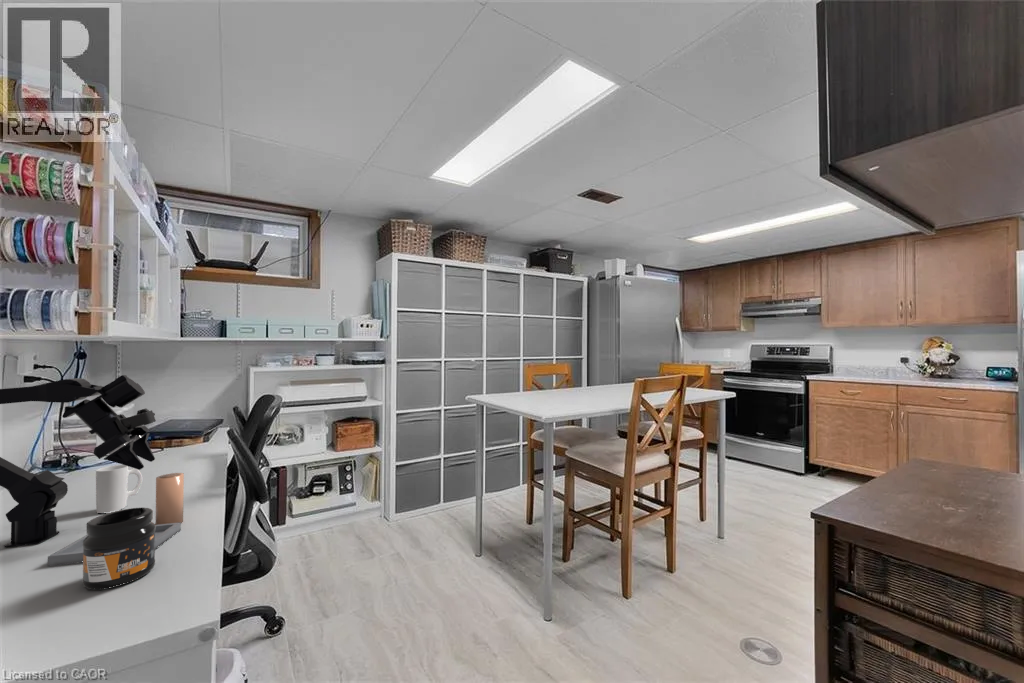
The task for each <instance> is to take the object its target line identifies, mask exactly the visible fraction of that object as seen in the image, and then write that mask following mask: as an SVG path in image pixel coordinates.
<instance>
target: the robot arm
mask: <svg viewBox="0 0 1024 683" xmlns="http://www.w3.org/2000/svg"><path fill="white" fill-rule="evenodd" d="M145 393H146V392H145V389H143V387H142V386H141V385H140V384H139V383H138V382H136V381H134V380H133V379H131V378H129V377H128V376H127V375H125V374H123V375H120V376H118V377H117V378H115V379H114V380H113V381H111V382H109V383H108V384H106V385H103V386H102V385H98V384H97V385H96V384H92V383H91V382H89V381H88V380H86V379H85V378H82V377H81V378H80V377H77V378H76V377H74V378H65V379H59V380H55V381H49V382H46V383H41V384H37V385H31V386H21V387H20V386H19V387H8V388H5V387H4V388H0V405H5V404H7V405H8V404H15V403H16V404H17V403H29V402H39V403H40V402H43V403H64V404H65V403H73V402H78V401H80V402H79V403H76V404H75V405H67V406H65V407H64V412H63V414H62V418H63V419H66V418H70V417H73V416H74V415H76V416H77V417H78V418H79V419H80V420H81V421H82V422H83V423H84V424H85V425H86V426H87V427H88V428H89V429H90V430H88V431H89V433H90V434H91V435H94V434H96V435H97V437H99V439H100V440H102V441H103V442H102V443H100V444H99V445H97V446H96V447H94V448H93V455H95V457H97V459H99V460H101V459H103V460H105V461H110V462H114V463H116V464H118V465H126V466H128V468H135V469H138V470H139V471H140V470H142V469H144V468H145V466H144V463H143V462H142V460H140V458H141V459H143V460H146V461H148V462H151V463H152V462H153V461H155V460H156V457H155V455H154V453H153V451H152V448H150V445H149V442H148V438H149V436H150V429H149V428H148V427H147V425H150V424H153V423H155V422H156V417H155V416H156V413H155V412H153V410H150V409H148V408H143V409H139V410H137V412H136V414H134V415H131V416H127V417H126V416H125V415H124V414H122V413H121V414H118V413H117V412H115V410H113V408H115V407H117V408H120V409H121V408H123V407H125V406H128V405H129V404H131V403H132V402H134V401H136V400H137V399H139V398H140V397H142V396H144V395H145ZM95 396H97V397H95ZM88 397H89V398H90V397H95V398H93V399H91V400H90V399H87V398H88ZM64 480H65V478H64V477H60V476H58V475H56V474H54V473H53V472H52V471H50V470H48V469H46V470H44V471H42V472H40V473H33V472H29V471H27V470H26V469H23V468H22V467H20V466H18V465H16V464H14V463H12V462H11V461H8V460H7V459H5V458H3V457H1V456H0V487H2V488H4V489H6V490H7V492H8V493H9V495H10V496H11V497H12V499H13V500H14V501H15V502H16V503H17V505H15V506H14V507H12V509H10V510H9V511H8V512H7V513H5V517H6V518H7V522H8V523H10V525H11V526H10V542H9V543H6V544H4V545H3V546H4V548H12V547H13V548H14V547H21V546H23V547H24V546H33V545H38V544H41V543H43V542H45V541H47V540H49V539H51V538H52V537H55V536H56V535H59V534H61V533H60V532H61V531H60V530H57V529H58V528H57V527H58V526H57V525H58V524H57V522H58V520H57V519H58V518H57V516H55V514H56V513H55V512H56V511H55V510H52V509H54V508H56V507H57V504H58V503H59V501H61V500H62V499H64V498H65V496H66V495H67V494H68V491H69V490H68V489H69V488H68V486H69V485H68V484H67V483H66V482H65V481H64Z"/></svg>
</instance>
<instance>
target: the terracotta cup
mask: <svg viewBox="0 0 1024 683" xmlns="http://www.w3.org/2000/svg"><path fill="white" fill-rule="evenodd" d="M184 476H185V475H184V473H183V472H174V473H173V472H172V473H166V474H161V475H158V476H157V477H155V523H154V524H155V525H159V524H169V523H179V522H181V524H183V523H184V496H185V495H184V494H185V493H184V488H185V487H184V484H185V482H184V481H185V480H184V479H185V477H184ZM182 522H183V523H182Z"/></svg>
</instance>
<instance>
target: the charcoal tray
mask: <svg viewBox="0 0 1024 683" xmlns="http://www.w3.org/2000/svg"><path fill="white" fill-rule="evenodd" d="M155 526H156V530H155V549H156V548H157V547H158V546H160V545H161V544H162V545H164V544H165V543H166V542H167V540H168V539H169V538H170V539H171V538H173V537H174V536H175V535H177V534H178V533H180V532H181V531H182V529H181V528H182V527H181V526H182V523H181V522H179V523H169V524H159V525H155ZM180 530H181V531H180ZM177 532H178V533H177ZM176 533H177V534H176ZM173 535H174V536H173ZM87 536H88V534H87V533H86V535H84V536H82V537H81V538H79V539H77V540H74V541H73V542H71V543H69V544H68V545H65V546H64V547H62V548H60V549H59V550H57V551H55V552H54V553H52V554H50V555H48V556H47V567H52V566H53V567H54V566H61V565H72V564H78V563H77V562H80V563H83V562H82V561H83V546H82V544H83V541H84V539H85V538H86V537H87ZM172 536H173V537H172ZM170 539H169V540H170ZM169 540H168V541H169ZM165 541H166V542H165ZM164 542H165V543H164ZM163 543H164V544H163ZM162 545H161V546H162ZM161 546H160V547H161ZM158 548H159V547H158ZM158 548H157V549H158ZM157 549H156V550H157Z"/></svg>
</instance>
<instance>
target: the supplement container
mask: <svg viewBox="0 0 1024 683" xmlns="http://www.w3.org/2000/svg"><path fill="white" fill-rule="evenodd" d="M153 512H154V511H153V509H151V508H150V507H133V508H132V507H131V508H127V509H126V508H125V509H123V510H119V511H115V512H111V513H106V514H100V515H99V516H96V517H94V518H92V519H91V520H89V521H88V522H87V523H86V535H87V534H88V536H87V537H86V538H85V539H84V541H83V544H82V546H83V562H82V579H81V581H82V582H81V583H82V586H83V587H84V588H86V589H88V590H93V589H101V590H105V589H104V588H108V589H110V588H109V587H113V586H116V585H120V584H123V583H127V582H130V581H132V580H135V579H137V578H139V579H141V578H143V577H144V576H146V575H147V574H148V573H150V572H151V571H152V570H153V569H154V566H155V564H156V559H155V555H156V550H155V530H156V526H155V523H154V522H152V521H153V519H154V518H153V516H154V515H153V514H154V513H153ZM145 574H146V575H145ZM142 576H143V577H142ZM140 577H141V578H140ZM137 580H138V579H137ZM135 581H136V580H135ZM132 582H133V581H132ZM130 583H131V582H130ZM127 584H128V583H127ZM113 588H114V587H113Z"/></svg>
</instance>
